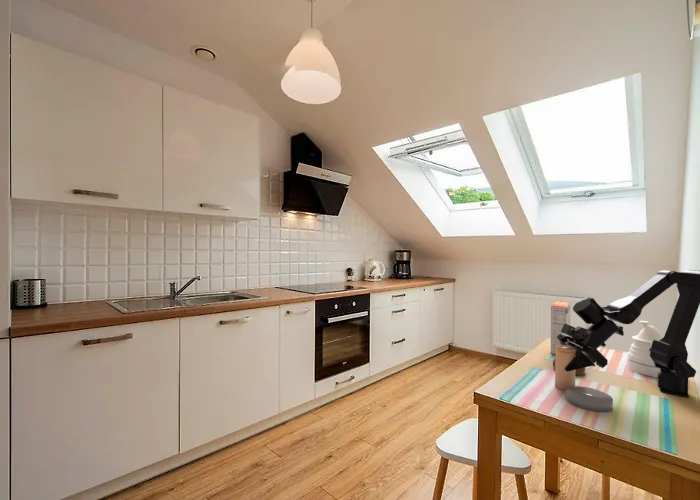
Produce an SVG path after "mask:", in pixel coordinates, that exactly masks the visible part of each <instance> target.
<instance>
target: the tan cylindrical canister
mask: <svg viewBox="0 0 700 500" xmlns="http://www.w3.org/2000/svg"><path fill="white" fill-rule="evenodd" d="M555 349H556V354H555V358H556V361H555V369H554V386H555V388H557V389H559V390H562V391H566V392H567V388H569V387H573V386H576V375H575V370H572V371H568V372H567V371H566V370H565V367H566V366H567V365H568V364H569V363H570V362H571V360H572V359H573V358H574V357H575V356H576V348H575V347H572V346H567V345H555Z"/></svg>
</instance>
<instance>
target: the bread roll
mask: <svg viewBox="0 0 700 500" xmlns="http://www.w3.org/2000/svg"><path fill="white" fill-rule="evenodd" d="M555 361H556V357H555V358H554V359H553V362H552V367H553V369H554V370H555ZM585 373H586V367H584V368H580V369H576V370H575V376H578V375H583V374H585Z"/></svg>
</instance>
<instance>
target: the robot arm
mask: <svg viewBox="0 0 700 500" xmlns="http://www.w3.org/2000/svg"><path fill="white" fill-rule="evenodd" d="M674 284H676V288H677V291H678V294H679V296H678V299H677V300H676V301H677V302H676V303H675V306H674V309H673V312H672V315H671V316H670V317H671V318H670V320H669V323H668V325H667V328H666V330H665V334H664V336H662V337H663V338H662V339H661V340H659V341H658V340H653V342H652V346H651V348H650V349H649V351H651V352H650V357H651V359H652V360H653V361H654V364H655V367H657V368H660V373H658V377H657V388H659V391H660V392H662V393H666V394H671V395H675V396H681V397H685V398H690V394H689V378H695V376H696V373H697V370H696V369H695V368H694V367H693V366H692V365H691V364H690V363H689V362H688V358H689V357H688V356H689V353H688V350H687V346H686V342H687V339H688V336H689V334H690V331H691V329H692V326H693V323H694V321H695V317H696V315H697V312H698V310H699V307H700V270H698V269H697V270H696V269H695V270H694V269H685V270H683V271H676V270H675V271H674V270H668V269H666V270H665V269H664V270H663V269H662V270H660V271H659V270H658V271H657V273H656V274H655V275H654V276H653V277H651V278H650V279H649V280H647V282H645V283H644V284H642V285H641V286H640V287H639V288H638V289H635V290H634V291H633V292H632V293H631V294H629V295H628V296H626V297H623V298H619V299H616V300H615V301H613V302H610V303H609V304H608V305H606V306H601V305H600V304H599V303H598V302H597V301H596V299H594V298H593V297H590V296H588V297H587V298H586V299H582V300H580V301H578V302H576V303H575V304H574V305H573V307H572V310H573V312H574V313H575V314H576V315H577V316H578V317H579V318H580V319H581V320H582V321H583V322H584V323H585V324H587V325H590V326H589V327H588V328H585V327H582V326H579V325H578V326H576V327H575V326H573V325H571V324H570V325H568V324H566V323H565V324H564V326H563V328H562V329H561V332H562V333H565V334H559V335H558V336H557V339H558V340H559V341H560V343H561V345H567V346H572V347H575V348H576V356H575V357H574V358H573V359H572V360H571V362H570V363H569V364H568V365H567V366H566V367H565V370H566V371H567V372H568V371H572V370H576V369H580V368H584V367H585V368H588V367H596V366H597V367H599V368H601V369H604V368H605V367H607V365H608V363H609V360H608V358H606V356H605V355H603V354H602V352H601V351H599V350H598V349H599V348H600V347H603V348H605V346H607V344H606V343H605V342H606V341H608V340H609V339H610V338H611V337H613V335H615V334H617V335H618V336H619V335H620V336H624V335H625V334H624V333H625V332H624V327H623V325H631V324H633V323H634V322H635V321H637V319H638V318H639V317H640V316H641V314H642V312H643V309H644V308H645V307H646V306H647V305H648V304H650V303H651V302H652V301H654V300H655V299H656V298H658V297H659V296H661V294H663V293H664V292H665V291H666V290H668V289H670V288H671V287H672V286H673V285H674ZM617 323H620V324H623V325H622V326H621V325H619V324H618V325H617ZM566 334H567V335H566ZM568 335H569V336H568Z"/></svg>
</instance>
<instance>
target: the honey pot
mask: <svg viewBox="0 0 700 500" xmlns="http://www.w3.org/2000/svg"><path fill="white" fill-rule="evenodd" d="M638 321H639V325H640V326H641V327H643V328H642V329H640V331H639V332H638V334H637V335H636V334H635V335H633V336H631V339H632V340H633V343H631V345H630V348H629V351H628V352H627V358H626V359H627V361H626V362H627V365H626V367H627V369H628V370H630V371H632V372H634V373H637V374H640V375H644V376H649V377H654V378H658V373H660V368H657V367H655V364H654V361H653V360H652V359H651V357H650V352H651V351H649V349H650V348H651V346H652V342H653V340H658V341H659V340H661V339H662V338H663V337H664V336H663V335H662V333H661V332H660V331H659V329H657V328H656V327H655V326H653V325H649V321H647V320H638Z"/></svg>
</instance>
